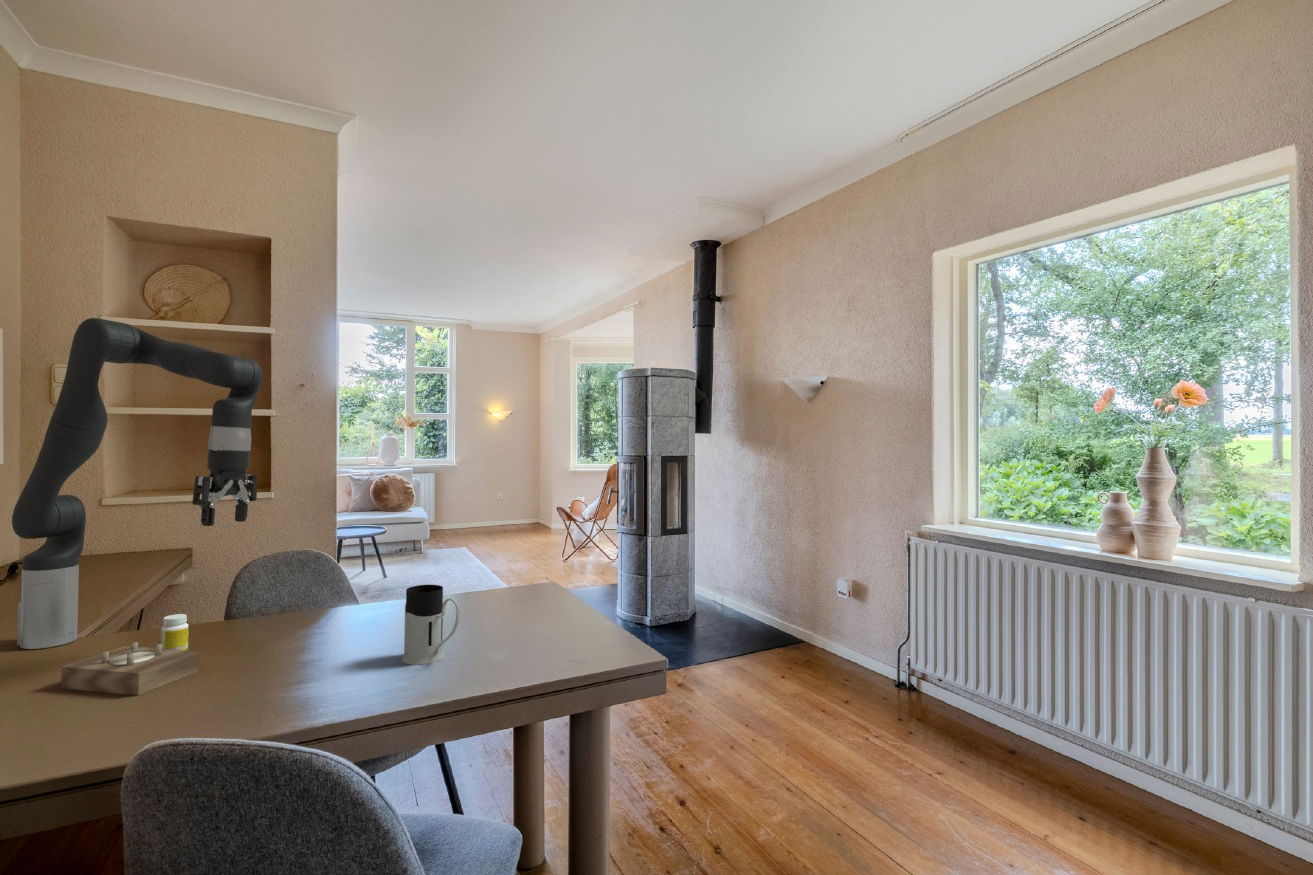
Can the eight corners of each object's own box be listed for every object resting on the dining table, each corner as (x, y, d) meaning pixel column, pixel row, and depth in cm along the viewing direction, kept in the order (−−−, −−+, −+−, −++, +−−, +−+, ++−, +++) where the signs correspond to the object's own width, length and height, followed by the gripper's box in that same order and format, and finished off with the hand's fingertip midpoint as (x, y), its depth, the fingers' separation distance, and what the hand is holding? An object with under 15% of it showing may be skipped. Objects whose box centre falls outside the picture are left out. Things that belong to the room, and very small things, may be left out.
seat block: (61, 687, 115) (61, 655, 116) (125, 665, 127) (126, 636, 127) (138, 695, 113) (139, 662, 113) (197, 671, 125) (198, 641, 125)
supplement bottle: (193, 653, 135) (194, 614, 135) (170, 660, 131) (171, 620, 131) (178, 650, 137) (179, 612, 137) (154, 657, 132) (155, 617, 132)
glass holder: (424, 648, 141) (425, 582, 141) (472, 658, 134) (473, 589, 134) (392, 660, 133) (394, 590, 133) (442, 672, 126) (443, 598, 127)
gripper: (240, 447, 141) (235, 519, 141) (185, 446, 127) (179, 526, 127) (270, 449, 140) (265, 521, 140) (218, 448, 126) (212, 528, 126)
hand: (224, 523), depth 133 cm, fingers open, 8 cm apart
